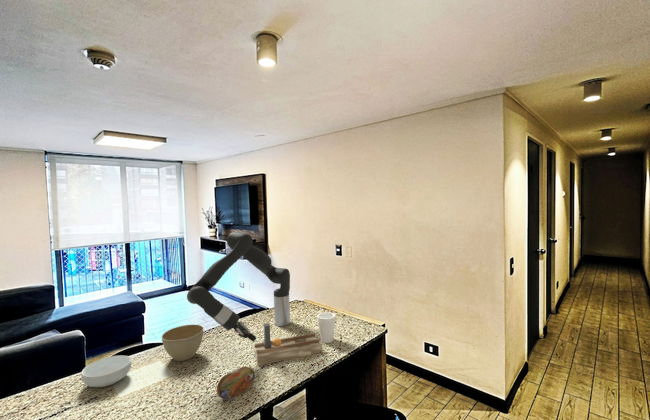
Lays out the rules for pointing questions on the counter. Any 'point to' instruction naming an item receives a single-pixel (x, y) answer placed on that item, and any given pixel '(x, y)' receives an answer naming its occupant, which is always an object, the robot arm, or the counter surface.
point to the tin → (235, 383)
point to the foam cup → (326, 326)
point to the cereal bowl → (106, 371)
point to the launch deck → (287, 349)
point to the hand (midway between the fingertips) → (254, 339)
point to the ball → (276, 342)
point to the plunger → (267, 336)
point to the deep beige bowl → (182, 341)
